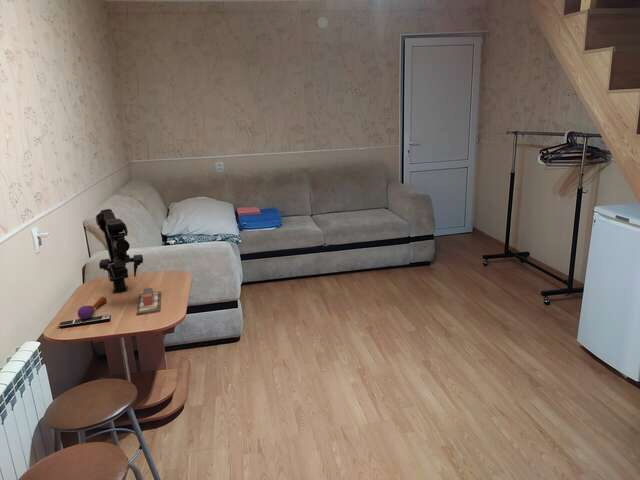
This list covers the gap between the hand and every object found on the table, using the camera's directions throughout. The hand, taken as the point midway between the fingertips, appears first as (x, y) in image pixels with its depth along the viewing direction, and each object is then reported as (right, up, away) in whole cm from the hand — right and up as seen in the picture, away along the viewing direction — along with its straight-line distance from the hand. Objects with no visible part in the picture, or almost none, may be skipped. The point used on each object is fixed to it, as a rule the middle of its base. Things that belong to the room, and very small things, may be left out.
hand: (124, 278), depth 221 cm
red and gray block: (+12, -11, -1) cm, 16 cm away
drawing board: (+12, -12, 0) cm, 17 cm away
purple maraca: (-12, -15, -6) cm, 20 cm away
